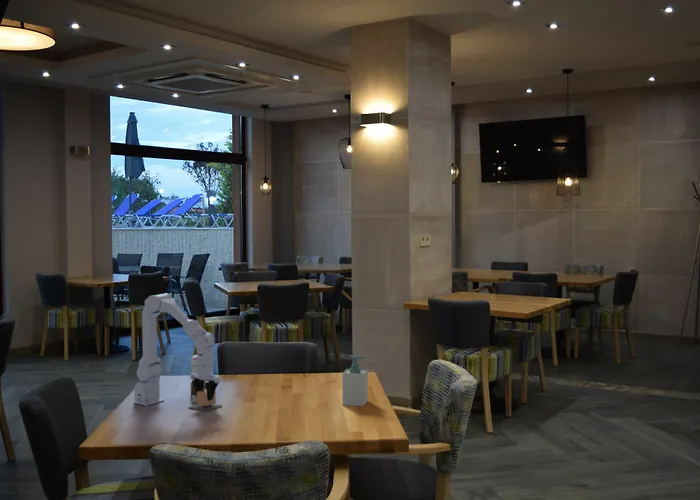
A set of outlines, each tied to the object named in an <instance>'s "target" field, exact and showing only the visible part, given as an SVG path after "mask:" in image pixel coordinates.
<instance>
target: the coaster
mask: <svg viewBox="0 0 700 500" xmlns="http://www.w3.org/2000/svg"><path fill="white" fill-rule="evenodd" d="M220 408H223V404H217V403H215V404H212V405H208V406H204V405H199V404H197V403H196V404H194V405H191V406H188V409H190V410H194V411H195V410H196V411H200V412H204V413H206V412H210V411H213V410H217V409H220Z"/></svg>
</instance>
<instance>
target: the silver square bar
mask: <svg viewBox="0 0 700 500" xmlns="http://www.w3.org/2000/svg"><path fill="white" fill-rule="evenodd" d="M191 404H197V394H195V395H193V396H192V399H191Z"/></svg>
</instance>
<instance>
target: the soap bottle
mask: <svg viewBox="0 0 700 500" xmlns="http://www.w3.org/2000/svg"><path fill="white" fill-rule="evenodd" d="M349 357H350V358H352V362H353V363H352V364H351V366H350V367H349V368H346V369H345V370H344V371H343V372H342V377H341V378H342V379H341V380H342V385H341V386H342V389H341V390H342V393H341V394H342V406H345V407H346V406H347V407H349V406H351V407H365V405H366V404H367V403H368V400H369V399H368V398H369V397H368V394H369V393H368V384H369V383H368V378H369V377H368V374H369V373H368V372H369V371H368V369H361V367H359V366H360V365H359V363H357V362H358V360H361V359H367V356H365V355H349Z"/></svg>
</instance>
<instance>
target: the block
mask: <svg viewBox="0 0 700 500" xmlns="http://www.w3.org/2000/svg"><path fill="white" fill-rule="evenodd" d="M216 392H217V391H216V390H215V392H214V396H213V400H210V401H209V400H208V398H207V390H206V389H204V390H201V391H197V403H196V405H197V404H199V405H204V406H208V405H212V404H217V403H216V400H217V399H216Z"/></svg>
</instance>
